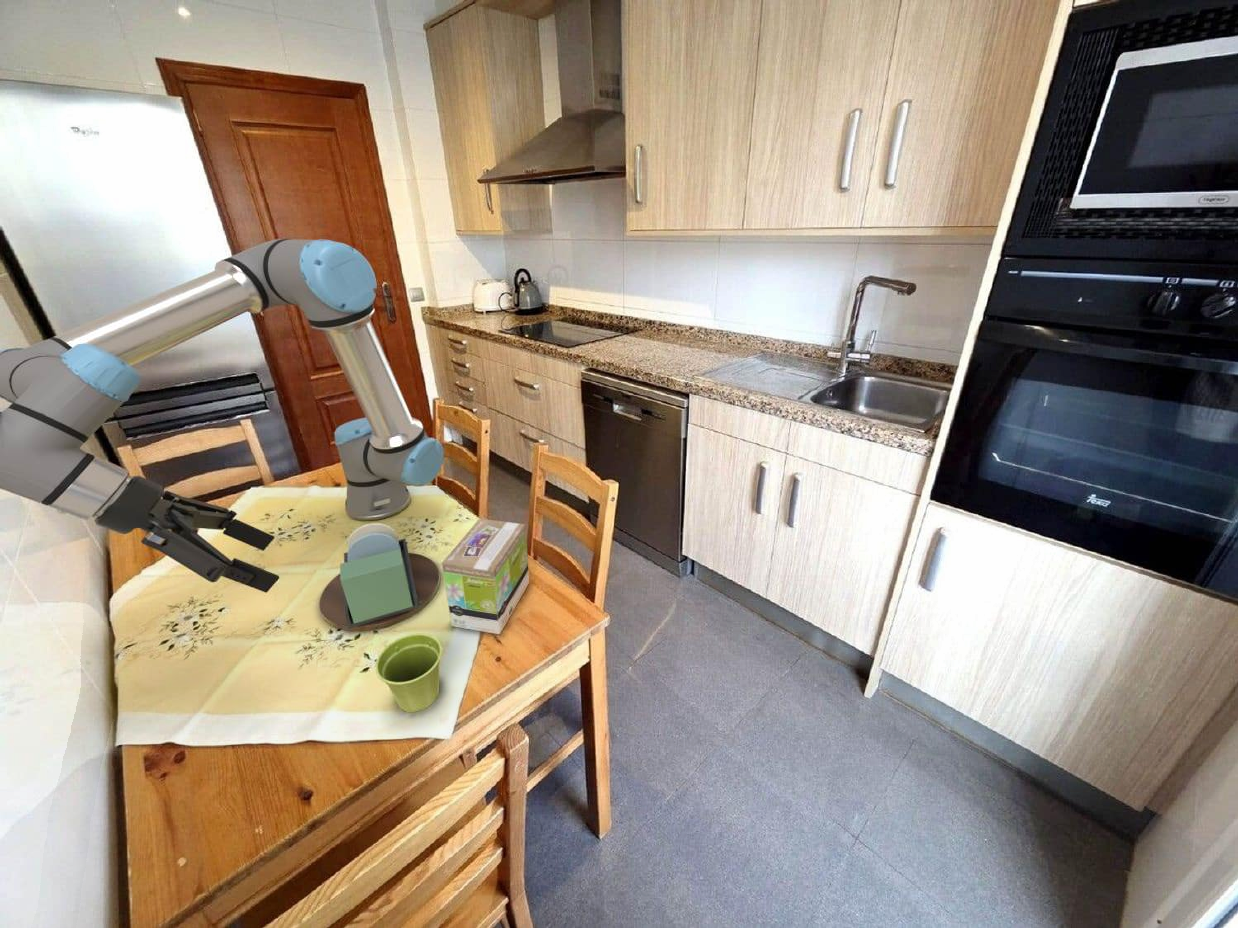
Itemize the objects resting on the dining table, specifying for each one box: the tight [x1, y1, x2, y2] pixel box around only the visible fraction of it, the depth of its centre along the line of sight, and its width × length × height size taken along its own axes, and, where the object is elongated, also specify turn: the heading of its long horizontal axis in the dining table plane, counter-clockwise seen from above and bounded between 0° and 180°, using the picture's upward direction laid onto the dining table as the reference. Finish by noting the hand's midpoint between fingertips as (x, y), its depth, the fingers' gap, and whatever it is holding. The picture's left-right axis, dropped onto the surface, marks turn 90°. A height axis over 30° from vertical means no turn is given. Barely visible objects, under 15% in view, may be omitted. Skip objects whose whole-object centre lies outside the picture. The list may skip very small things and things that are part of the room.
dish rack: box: [339, 522, 419, 629], centre depth 98 cm, size 20×12×11 cm, turn 26°
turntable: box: [318, 552, 441, 632], centre depth 101 cm, size 22×22×1 cm
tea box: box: [441, 517, 530, 635], centre depth 94 cm, size 15×10×15 cm, turn 168°
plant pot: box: [374, 633, 443, 713], centre depth 77 cm, size 9×9×9 cm
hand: (271, 562), depth 80 cm, fingers open, 13 cm apart
